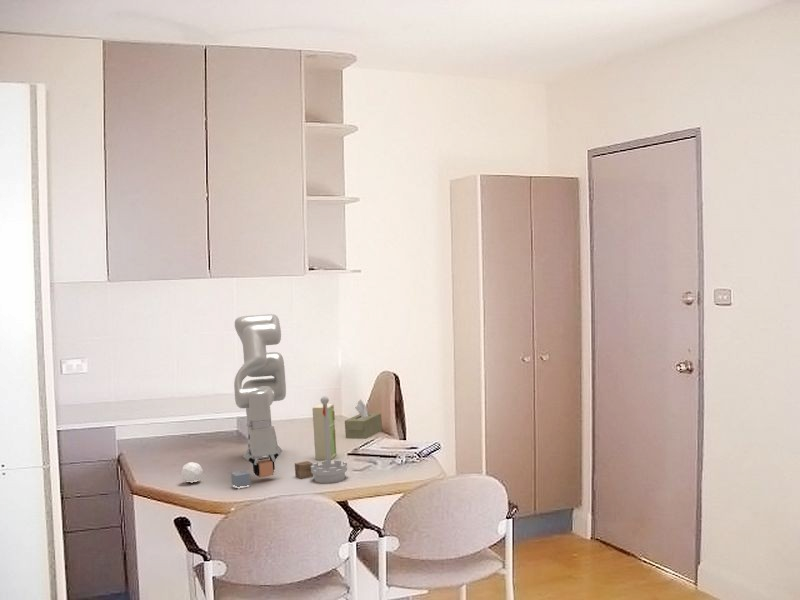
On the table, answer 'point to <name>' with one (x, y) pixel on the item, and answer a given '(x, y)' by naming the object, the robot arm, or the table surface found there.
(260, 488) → the table surface
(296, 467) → the walnut block
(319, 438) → the green and beige carton
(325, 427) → the flag stand
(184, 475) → the geometric ball
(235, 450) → the table surface
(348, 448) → the table surface
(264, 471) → the terracotta block
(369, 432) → the tissue box
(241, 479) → the slate-grey block
